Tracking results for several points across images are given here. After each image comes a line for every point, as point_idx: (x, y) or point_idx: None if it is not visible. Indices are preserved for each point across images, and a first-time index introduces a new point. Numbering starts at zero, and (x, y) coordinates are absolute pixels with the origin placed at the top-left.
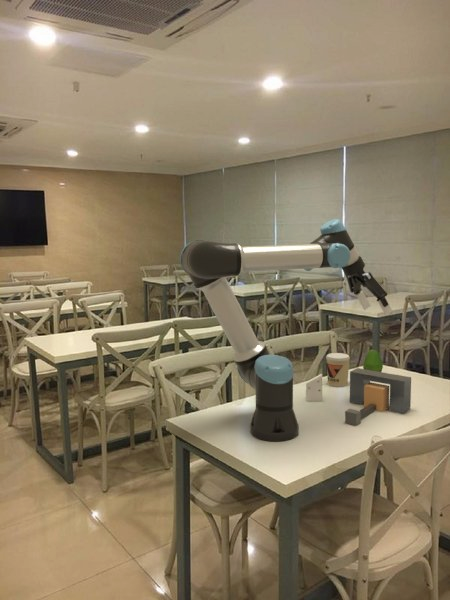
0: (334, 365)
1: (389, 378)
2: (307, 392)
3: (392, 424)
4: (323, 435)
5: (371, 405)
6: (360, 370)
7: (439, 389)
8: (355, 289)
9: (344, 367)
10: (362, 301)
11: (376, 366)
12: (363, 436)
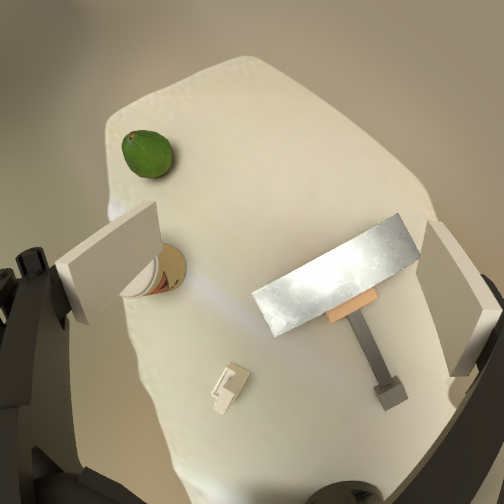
0: (154, 290)
1: (383, 276)
2: (230, 405)
3: (429, 321)
4: (401, 457)
5: (355, 316)
6: (277, 301)
7: (295, 91)
8: (67, 381)
9: (167, 265)
10: (127, 270)
11: (164, 155)
12: (441, 402)
